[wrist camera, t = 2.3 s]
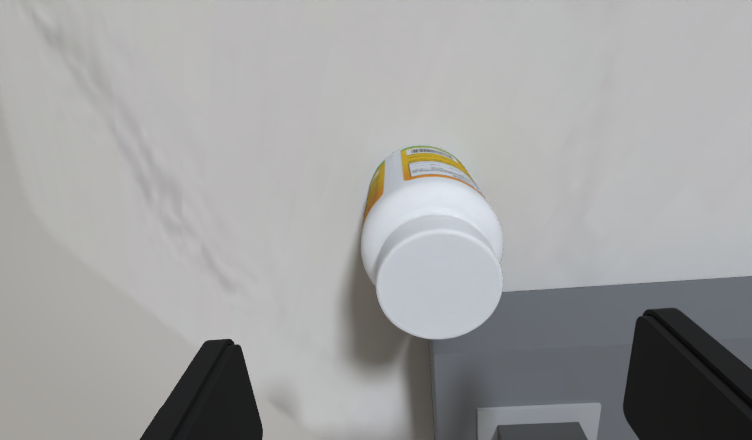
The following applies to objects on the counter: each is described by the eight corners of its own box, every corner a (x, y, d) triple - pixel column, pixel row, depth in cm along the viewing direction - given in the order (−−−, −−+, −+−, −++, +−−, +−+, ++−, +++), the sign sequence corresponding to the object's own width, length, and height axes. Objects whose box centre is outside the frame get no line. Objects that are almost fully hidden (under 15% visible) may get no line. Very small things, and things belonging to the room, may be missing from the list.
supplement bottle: (402, 255, 23) (408, 382, 14) (349, 177, 21) (318, 264, 12) (487, 208, 22) (556, 314, 13) (439, 122, 20) (477, 173, 11)
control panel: (862, 269, 22) (1100, 375, 15) (795, 439, 27) (949, 585, 19) (425, 297, 24) (441, 405, 16) (435, 453, 29) (450, 591, 21)
